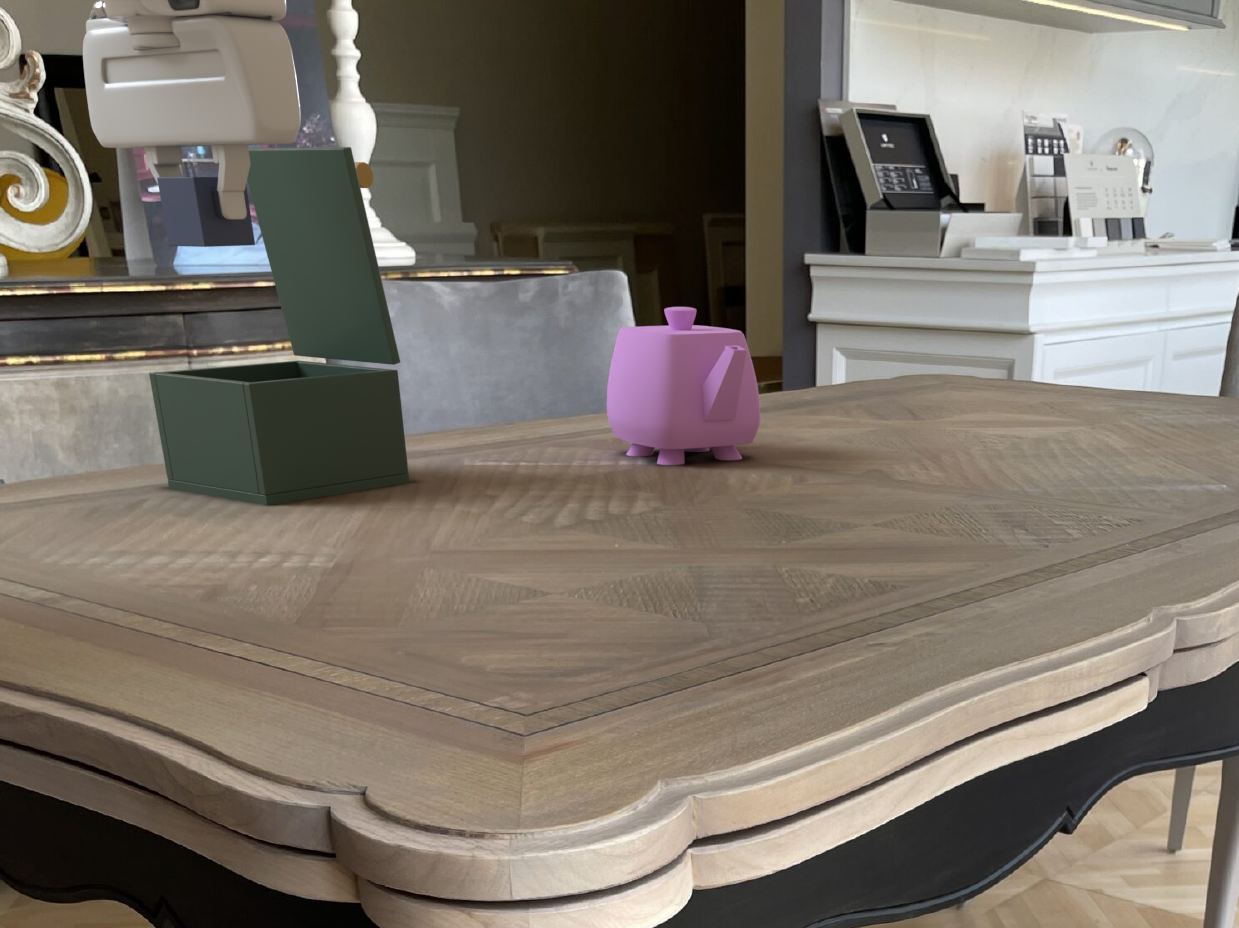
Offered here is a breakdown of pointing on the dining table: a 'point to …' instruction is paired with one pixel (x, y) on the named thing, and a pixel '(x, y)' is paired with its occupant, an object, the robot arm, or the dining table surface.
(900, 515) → the dining table surface
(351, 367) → the chest
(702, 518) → the dining table surface
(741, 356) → the teapot
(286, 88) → the robot arm
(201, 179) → the block
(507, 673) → the dining table surface
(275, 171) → the lid
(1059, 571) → the dining table surface
